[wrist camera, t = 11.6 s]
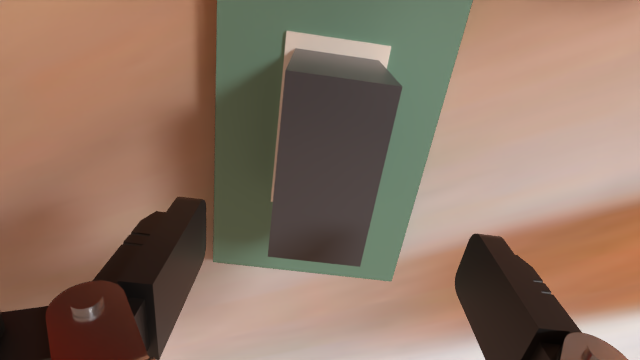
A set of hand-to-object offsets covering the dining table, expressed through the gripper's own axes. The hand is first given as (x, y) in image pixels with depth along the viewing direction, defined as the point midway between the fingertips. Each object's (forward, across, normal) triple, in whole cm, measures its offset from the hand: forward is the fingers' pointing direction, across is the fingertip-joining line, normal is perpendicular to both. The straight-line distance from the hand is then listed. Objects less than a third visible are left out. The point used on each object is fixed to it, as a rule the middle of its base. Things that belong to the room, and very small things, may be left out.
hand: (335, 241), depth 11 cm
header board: (+12, 0, 0) cm, 12 cm away
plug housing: (+10, 0, 0) cm, 10 cm away
